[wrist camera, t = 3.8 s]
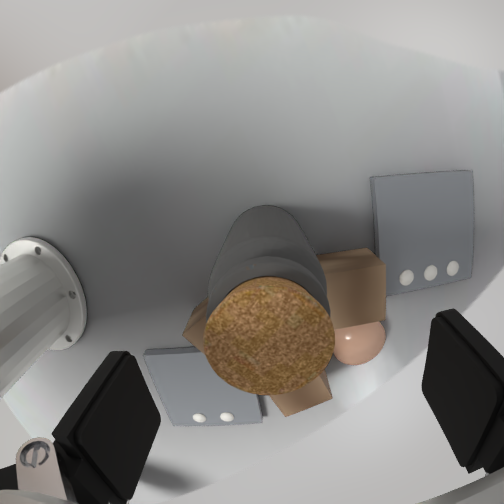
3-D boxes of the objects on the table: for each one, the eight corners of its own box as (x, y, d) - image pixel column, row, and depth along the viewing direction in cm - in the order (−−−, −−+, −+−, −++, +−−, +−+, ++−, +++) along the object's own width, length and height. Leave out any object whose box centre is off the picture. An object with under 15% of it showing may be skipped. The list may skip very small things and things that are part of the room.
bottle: (315, 252, 25) (374, 363, 11) (254, 288, 26) (245, 423, 12) (277, 190, 24) (301, 234, 9) (214, 230, 25) (153, 322, 10)
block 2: (283, 385, 29) (285, 416, 25) (261, 354, 28) (261, 385, 24) (324, 368, 28) (332, 398, 24) (306, 334, 27) (312, 363, 23)
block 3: (319, 304, 27) (328, 330, 22) (314, 254, 25) (324, 274, 21) (368, 296, 26) (385, 319, 22) (366, 247, 25) (385, 264, 21)
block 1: (230, 341, 28) (224, 371, 24) (193, 308, 27) (182, 335, 23) (266, 312, 27) (267, 340, 23) (229, 276, 26) (223, 299, 22)
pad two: (174, 419, 31) (172, 426, 30) (146, 349, 28) (142, 356, 27) (262, 416, 30) (262, 423, 29) (247, 342, 28) (246, 348, 27)
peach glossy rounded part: (329, 359, 28) (332, 368, 27) (329, 313, 27) (332, 321, 25) (378, 351, 28) (383, 360, 26) (381, 306, 27) (387, 314, 25)
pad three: (376, 292, 26) (380, 297, 25) (369, 177, 23) (374, 178, 22) (465, 274, 25) (471, 278, 24) (466, 170, 22) (473, 170, 21)
